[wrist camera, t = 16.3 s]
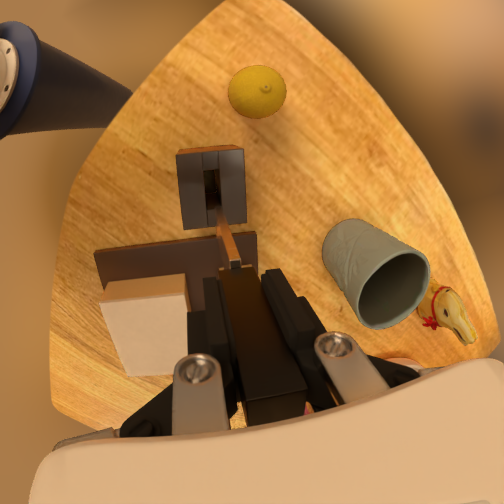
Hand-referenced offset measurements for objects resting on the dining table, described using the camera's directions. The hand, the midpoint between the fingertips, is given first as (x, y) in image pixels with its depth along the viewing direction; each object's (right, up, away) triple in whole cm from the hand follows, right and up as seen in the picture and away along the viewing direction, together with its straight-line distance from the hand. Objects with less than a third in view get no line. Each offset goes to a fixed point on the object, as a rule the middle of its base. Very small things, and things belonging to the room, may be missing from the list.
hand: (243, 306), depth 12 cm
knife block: (-4, +10, +20) cm, 23 cm away
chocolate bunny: (+31, -5, +35) cm, 47 cm away
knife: (-2, +4, +10) cm, 11 cm away
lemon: (0, +19, +18) cm, 26 cm away
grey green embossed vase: (+14, +3, +28) cm, 31 cm away
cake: (-12, -6, +25) cm, 29 cm away
